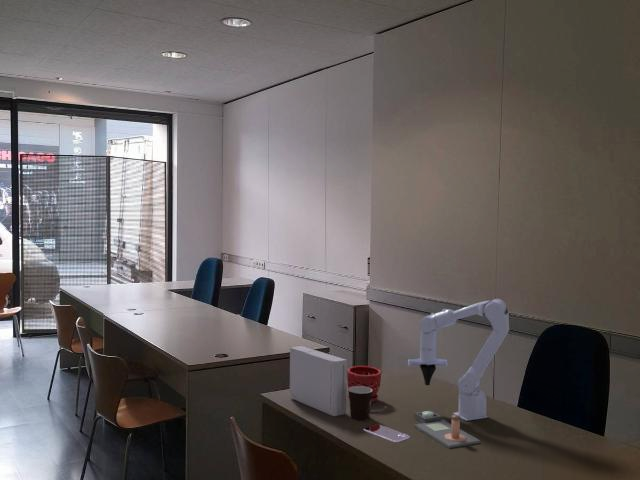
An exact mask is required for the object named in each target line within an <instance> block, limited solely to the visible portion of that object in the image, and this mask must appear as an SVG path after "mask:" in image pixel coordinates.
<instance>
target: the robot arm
mask: <svg viewBox="0 0 640 480" xmlns="http://www.w3.org/2000/svg"><path fill="white" fill-rule="evenodd" d="M474 315H478V316H480V317H486V318H487V320H488V321H489V322H490V324H491V327H492V331H491V333H490V334H489V336H488V338H487V340H486V341H485V343H484V345H483V346H482V348H481V350H480V351H479V353H478V354H477V356H476V357H475V359H474V361H473V363H472V364H471V366H470V367H469V369H468V370H467V371H466V372H465V373H464V374H463V376H462V377H460V378H459V379H458V381H457V387H458V411H456V412H455V411H454V412H453V414H452V415H459V416H460V419H461V420H463V421H473V420H474V421H476V420H481V419H482V420H483V419H487V418H488V416H487V396H486V394H485V393H484V391H482V390H480V389H479V386H481V385H480V384H481V383H482V376H483V374H484V372H485V371H486V369H487V367H488V366H489V364H490V362H491V361H492V359H493V358H494V356H495V354H496V353H497V351H498V349H499V348H500V346H501V344H502V343H503V341H504V339H505V338H506V337H507V335H508V333H509V332H510V319H509V315H510V309H509V308H508V305H507V304H506V301H504V300H502V299H501V298H494V299H492V300H490V299H489V300H484V301H480V302H477V303H473V304H471V305H468V306H466V307H465V306H464V307H463V308H460V309H456V310H453V309H451V308H449V309H447V308H442V310H441V311H438V312H436V313H434V312H432V313H430V315H426V316H425V317H423V318H421V319H420V320H419V323H418V327H419V329H420V339H419V340H420V341H419V342H420V345H419V346H420V347H419V349H420V351H419V352H420V353H419V358H411V359H407V365H408V366H409V367H411V366H419V369H420V370H421V373H422V376H423V380H424V385H425V386H430V385H431V381H432V377H433V375H434V374H435V372H436V369H437V367H436V366H445V367H447V366H448V364H449V363H448V360H447V359H445V358H444V359H442V358H437V355H436V354H437V353H436V352H437V330H441V329H444V328H447V327H449V326H454V325H455V324H456V322H457V320H459V319H463V318H467V317H470V316H474Z"/></svg>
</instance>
